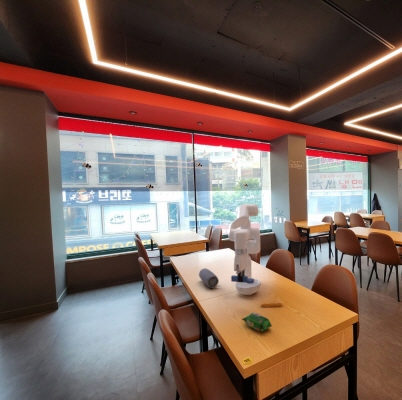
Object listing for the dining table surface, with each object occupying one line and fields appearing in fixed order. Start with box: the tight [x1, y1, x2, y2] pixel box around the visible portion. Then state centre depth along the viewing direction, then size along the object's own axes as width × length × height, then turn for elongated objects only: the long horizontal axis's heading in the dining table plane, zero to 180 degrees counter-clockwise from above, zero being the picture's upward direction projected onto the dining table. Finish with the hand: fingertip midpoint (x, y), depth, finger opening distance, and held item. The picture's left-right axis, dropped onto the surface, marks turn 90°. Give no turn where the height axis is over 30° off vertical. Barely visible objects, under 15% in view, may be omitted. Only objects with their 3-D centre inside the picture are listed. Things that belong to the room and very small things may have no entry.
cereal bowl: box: [235, 278, 261, 296], centre depth 157 cm, size 17×17×7 cm
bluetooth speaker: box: [198, 267, 219, 288], centre depth 173 cm, size 23×9×10 cm, turn 35°
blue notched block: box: [230, 274, 255, 284], centre depth 138 cm, size 14×4×3 cm, turn 77°
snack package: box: [241, 312, 272, 333], centre depth 115 cm, size 7×16×5 cm, turn 52°
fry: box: [261, 301, 282, 308], centre depth 138 cm, size 12×2×2 cm, turn 93°
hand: (241, 281), depth 138 cm, fingers closed on blue notched block, 2 cm apart
